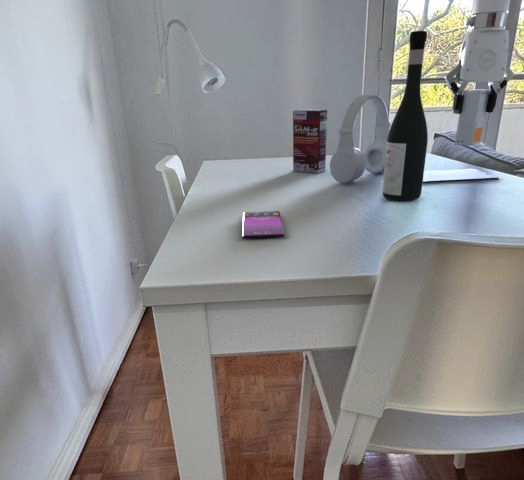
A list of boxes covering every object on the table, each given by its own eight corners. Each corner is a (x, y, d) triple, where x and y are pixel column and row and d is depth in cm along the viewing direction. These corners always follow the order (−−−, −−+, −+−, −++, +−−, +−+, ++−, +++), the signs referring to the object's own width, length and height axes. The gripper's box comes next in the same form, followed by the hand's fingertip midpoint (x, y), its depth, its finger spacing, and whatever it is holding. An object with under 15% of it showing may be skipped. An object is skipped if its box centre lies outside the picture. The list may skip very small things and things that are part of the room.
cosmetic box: (471, 146, 114) (480, 89, 108) (454, 145, 117) (462, 90, 111) (480, 143, 118) (490, 89, 112) (463, 142, 121) (472, 89, 115)
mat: (473, 170, 127) (473, 168, 127) (498, 179, 115) (499, 177, 115) (393, 174, 127) (393, 172, 126) (410, 184, 115) (410, 182, 114)
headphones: (356, 186, 115) (361, 96, 105) (327, 182, 120) (330, 97, 110) (395, 173, 128) (403, 92, 118) (368, 171, 133) (374, 93, 123)
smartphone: (279, 215, 92) (279, 210, 92) (284, 237, 79) (284, 231, 79) (242, 217, 92) (242, 212, 92) (241, 239, 79) (241, 233, 79)
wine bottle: (390, 204, 97) (407, 29, 83) (376, 196, 104) (389, 34, 89) (427, 201, 98) (450, 28, 84) (410, 193, 105) (429, 32, 90)
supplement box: (292, 171, 137) (291, 110, 129) (300, 168, 140) (300, 109, 132) (318, 173, 133) (319, 110, 125) (326, 170, 136) (328, 109, 128)
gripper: (456, 23, 102) (443, 115, 110) (535, 20, 102) (516, 112, 111) (442, 27, 108) (431, 113, 117) (516, 24, 109) (500, 110, 117)
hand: (472, 112), depth 114 cm, fingers closed on cosmetic box, 7 cm apart
